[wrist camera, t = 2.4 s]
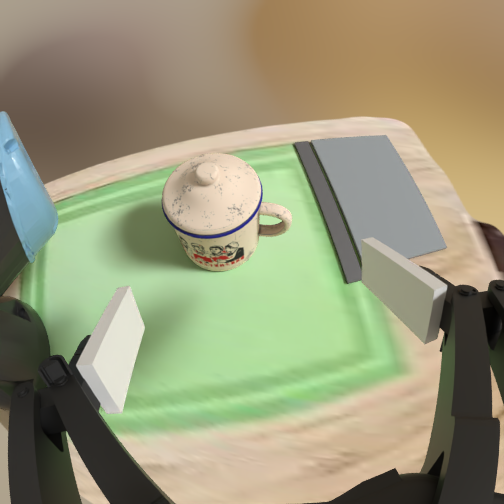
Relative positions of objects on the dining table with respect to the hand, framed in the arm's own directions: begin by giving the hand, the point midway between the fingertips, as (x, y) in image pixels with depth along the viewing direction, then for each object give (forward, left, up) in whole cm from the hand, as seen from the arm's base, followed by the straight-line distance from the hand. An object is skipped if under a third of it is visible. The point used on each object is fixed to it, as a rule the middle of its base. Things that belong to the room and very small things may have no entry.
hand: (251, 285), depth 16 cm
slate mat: (+20, +14, -15) cm, 28 cm away
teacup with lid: (0, +11, -15) cm, 18 cm away
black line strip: (+12, +13, -15) cm, 23 cm away
